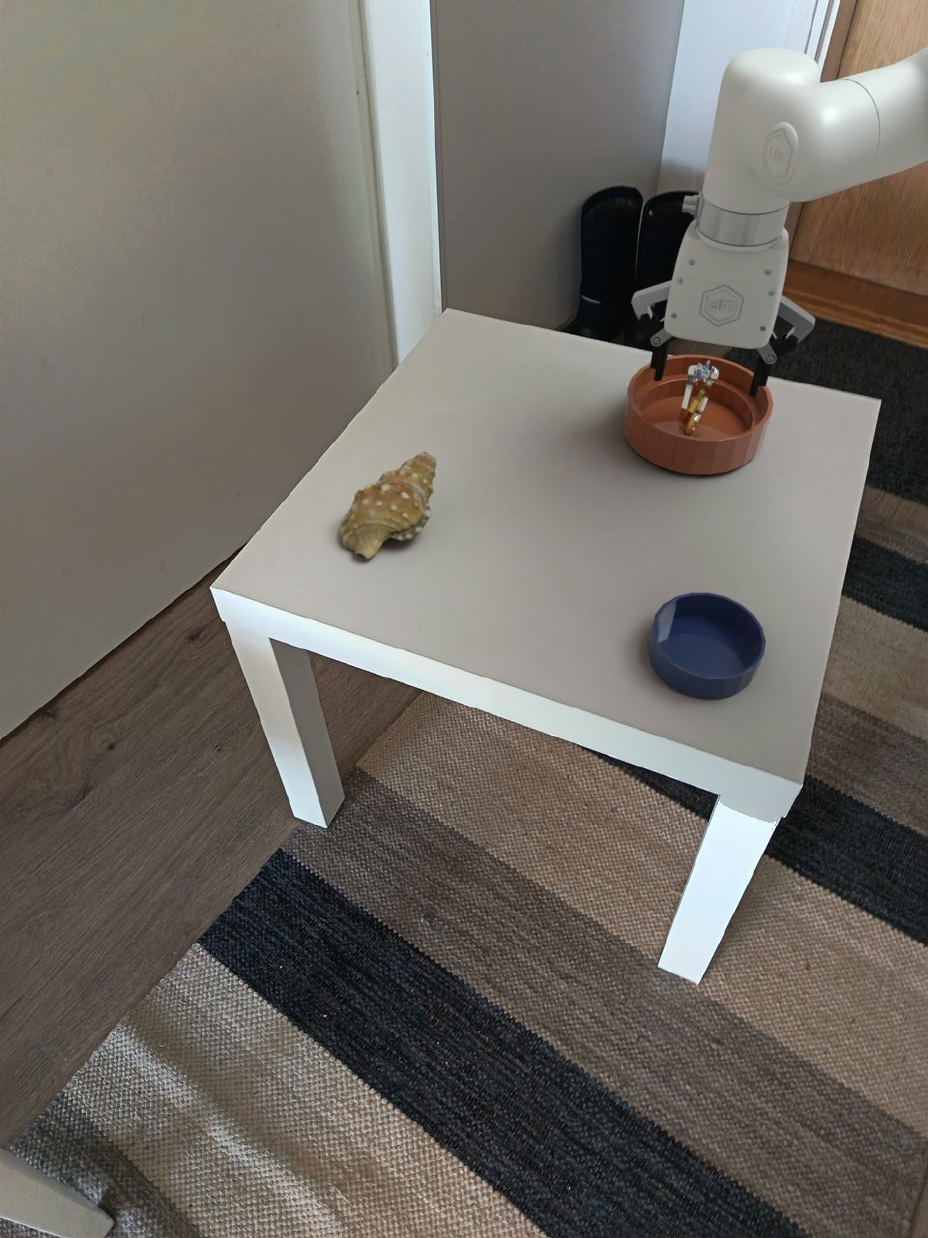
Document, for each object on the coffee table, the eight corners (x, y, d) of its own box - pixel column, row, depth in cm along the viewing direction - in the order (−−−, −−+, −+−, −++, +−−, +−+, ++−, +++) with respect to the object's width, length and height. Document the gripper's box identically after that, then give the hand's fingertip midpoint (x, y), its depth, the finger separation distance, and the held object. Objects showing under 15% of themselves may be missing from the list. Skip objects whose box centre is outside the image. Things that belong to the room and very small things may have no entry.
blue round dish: (762, 628, 77) (771, 606, 75) (749, 712, 72) (758, 691, 69) (658, 603, 79) (663, 582, 77) (637, 683, 74) (642, 662, 71)
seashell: (363, 520, 92) (389, 432, 87) (431, 551, 90) (460, 463, 86) (323, 544, 83) (349, 448, 79) (397, 578, 82) (428, 483, 78)
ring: (689, 451, 92) (704, 388, 86) (662, 440, 93) (675, 377, 87) (718, 417, 95) (734, 354, 89) (691, 407, 97) (705, 345, 90)
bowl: (768, 405, 97) (780, 367, 94) (751, 491, 88) (763, 453, 85) (637, 382, 101) (643, 344, 97) (609, 462, 92) (614, 424, 88)
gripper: (635, 223, 76) (615, 388, 89) (841, 248, 72) (788, 417, 85) (652, 187, 80) (631, 349, 93) (846, 209, 76) (795, 375, 89)
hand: (706, 381), depth 89 cm, fingers open, 9 cm apart
